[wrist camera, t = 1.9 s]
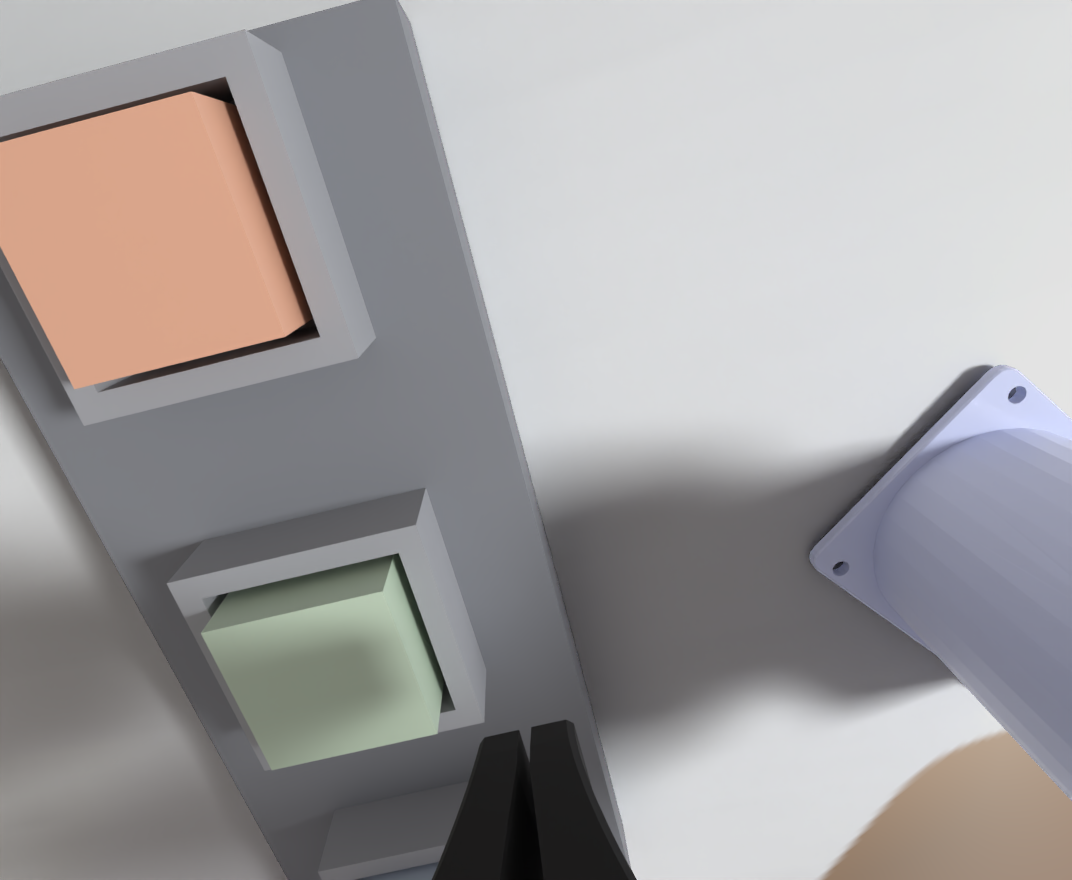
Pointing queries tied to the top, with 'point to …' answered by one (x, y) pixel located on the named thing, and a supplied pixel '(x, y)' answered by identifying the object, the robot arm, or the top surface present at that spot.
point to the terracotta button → (147, 238)
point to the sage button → (329, 661)
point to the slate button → (408, 873)
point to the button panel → (326, 435)
